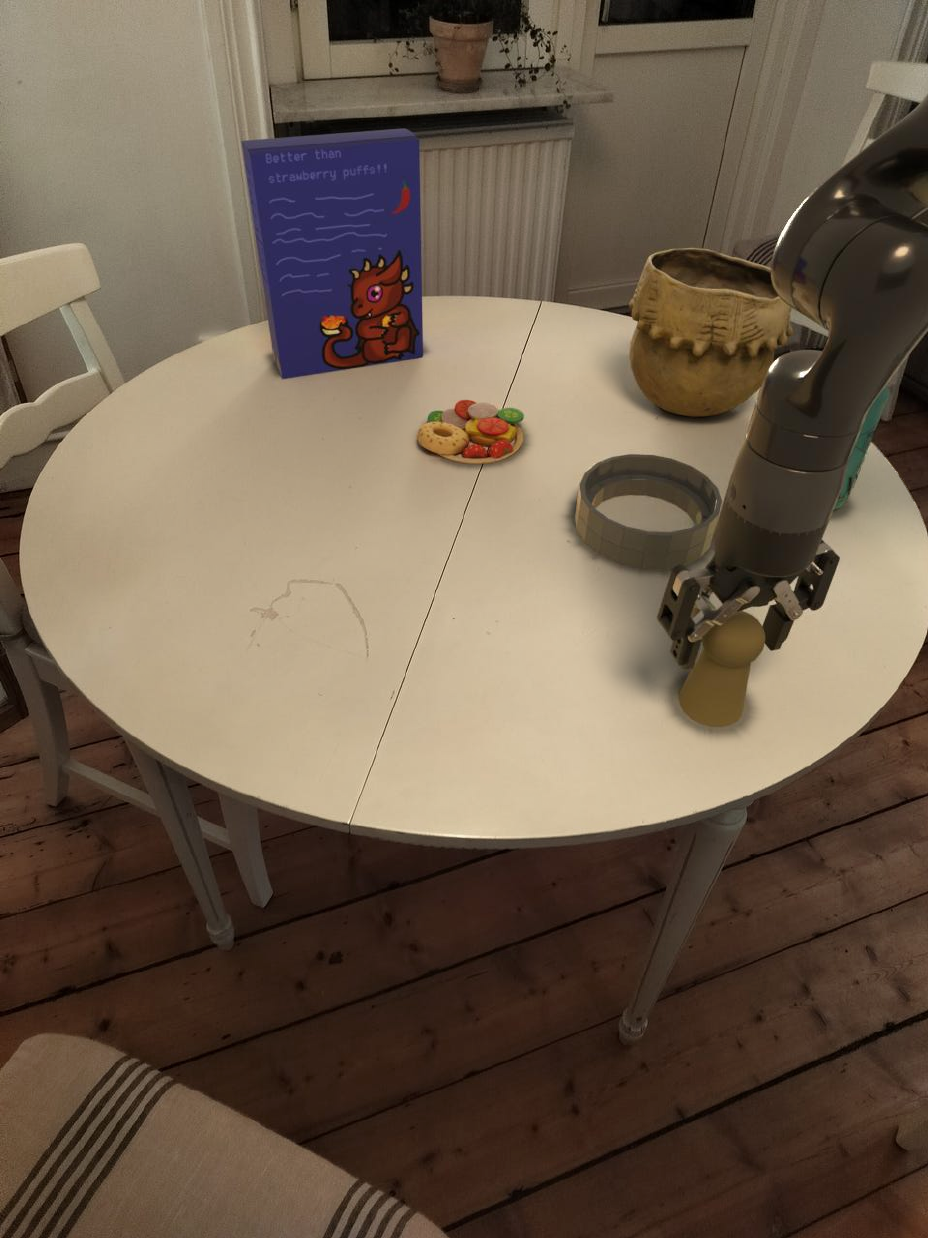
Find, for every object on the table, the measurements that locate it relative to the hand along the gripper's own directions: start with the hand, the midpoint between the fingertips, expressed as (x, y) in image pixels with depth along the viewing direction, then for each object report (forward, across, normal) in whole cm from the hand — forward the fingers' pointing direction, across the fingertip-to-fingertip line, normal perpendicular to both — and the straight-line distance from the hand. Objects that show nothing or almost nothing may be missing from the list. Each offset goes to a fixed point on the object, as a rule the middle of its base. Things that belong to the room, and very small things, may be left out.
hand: (726, 653), depth 72 cm
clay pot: (+7, +26, +51) cm, 57 cm away
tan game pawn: (+8, 0, 0) cm, 8 cm away
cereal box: (+8, -18, +78) cm, 80 cm away
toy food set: (+8, -7, +50) cm, 51 cm away
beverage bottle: (+7, +29, +25) cm, 39 cm away
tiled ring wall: (+7, +6, +26) cm, 28 cm away
